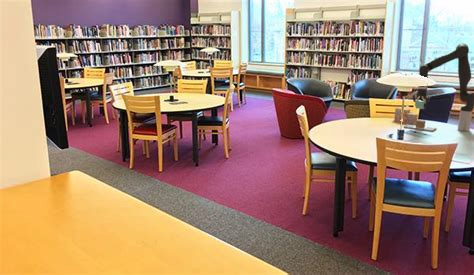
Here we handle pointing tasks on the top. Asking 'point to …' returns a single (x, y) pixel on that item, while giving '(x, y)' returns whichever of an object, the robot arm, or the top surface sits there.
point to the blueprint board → (419, 128)
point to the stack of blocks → (405, 116)
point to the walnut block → (420, 123)
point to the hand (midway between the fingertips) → (420, 107)
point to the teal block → (420, 104)
